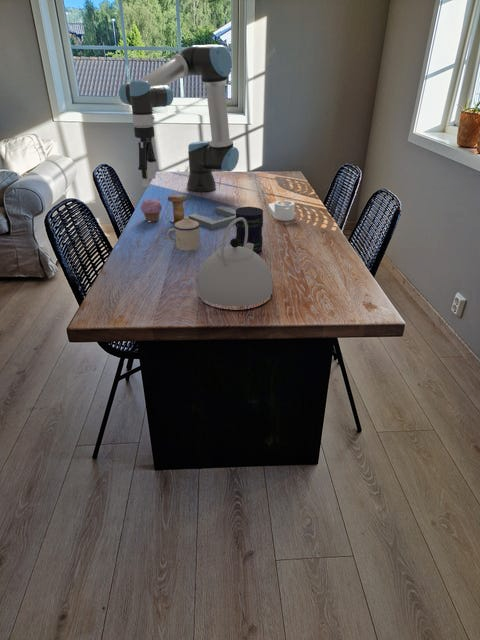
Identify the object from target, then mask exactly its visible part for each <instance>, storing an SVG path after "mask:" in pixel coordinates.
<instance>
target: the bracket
mask: <svg viewBox="0 0 480 640" xmlns="http://www.w3.org/2000/svg"><path fill="white" fill-rule="evenodd" d="M267 205H268V206H267V210H268V211H269V213H270V214H271V215H272V217H273V218H274V219H275V220H278V221H283V222H286V221H291V220H295V208H296V207H295V205H296V203H295V201H292V200H288V199H284V200H283V202H282V200H276V201H274V202H271V203H270V202H269V203H268V204H267Z"/></svg>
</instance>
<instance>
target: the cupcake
mask: <svg viewBox="0 0 480 640" xmlns="http://www.w3.org/2000/svg"><path fill="white" fill-rule="evenodd" d="M162 209H163V208H162V204H161V202H160V200H158V199H153V198H147V199H144V200H143V202H142V203H141V205H140V210H141V212H142V213H143V216H144V218H145V221H146V220H147V221H151V222H150V223H153V222H152V221H158V220H159V221H160V214H161V211H162ZM147 221H146V222H147ZM159 221H158V222H159Z"/></svg>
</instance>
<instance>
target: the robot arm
mask: <svg viewBox="0 0 480 640" xmlns="http://www.w3.org/2000/svg"><path fill="white" fill-rule="evenodd" d="M232 68H233V60H232V57H231V53H230V51H229V50H228V49H227V47H226V46H224V45H221V44H220V45H219V44H204V45H203V44H201V45H199V44H195V45H191V46H188V47H186V48H184V49H182V50H180V51H178V52H176V53H175V54H173V55H171V58H170V60H168V61H167V62H165V63H164V64H162V65H161V66H159V67H157V68H156V69H154V70H153V71H152V70H151V71H150V72H149V73H147V74H146V75H144V76H143V77H141V78H140V79H137V80H131V81H129V83H124V84H121V86H120V87H119V91H118V96H119V98H120V101H121V103H123V104H125V105H129V106H131V112H132V113H131V114H132V123H133V126H134V127H133V132H134V137H135V138H137V139H140V141H138V167H137V169H138V171H140V176H141V177H140V178H141V184H142V187H143V188H149V187H151V186H150V180H151V179H153V180H155V179H156V169H155V163H156V162H157V159H156V157H155V152H154V146H153V142H152V141H153V140H152V138H154V137H155V127H154V126H153V125H154V120H155V117H154V116H153V109H154V108H163V107H167V106H171V104H172V103H173V102H174V92H173V90H172V88H171V87H170V86H169V85H171V84H172V83H174V82H175V81H177V80H179V79H184V78H186V77H188V76H189V77H190V76H201V83H203V84H204V85H205V89H206V99H207V107H208V117H209V126H210V134H211V140H201V141H194V142H190V143H189V144H188V147H187V148H188V152H187V153H188V154H187V155H188V165H189V166H188V167H189V169H188V171H189V175H188V179H187V182H186V189H187V190H189V191H192V192H197V193H198V192H210V191H214V190H216V188H217V186H216V181H215V178H214V175H213V171H219V172H220V171H221V172H228V173H229V172H232V171H234V170H235V169H236V168H237V164H238V162H239V158H240V157H239V156H240V151H239V149H238V148H237V147H235V146H234V141H233V140H232V139H231V138H230V130H229V117H228V116H229V115H228V107H227V106H228V105H227V94H226V83H227V81H228V79H229V77H228V76H230V75H231V74H232V73H231V72H232Z"/></svg>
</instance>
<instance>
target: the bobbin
mask: <svg viewBox="0 0 480 640" xmlns="http://www.w3.org/2000/svg"><path fill="white" fill-rule="evenodd" d="M187 200H188V196H187V195H185V194H181V193H178V194H170V195H168V196H167V201H168V202H171V203H172V210H173V211H172V212H173V213H172V214H173V218H174V219H173V218H172V219H173V220H174V221H173V222H172V223H171V224H173V223H176V222H178V221H181V220H183V219H184V217H185V212H184V211H185V210H184V202H185V201H187Z"/></svg>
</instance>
